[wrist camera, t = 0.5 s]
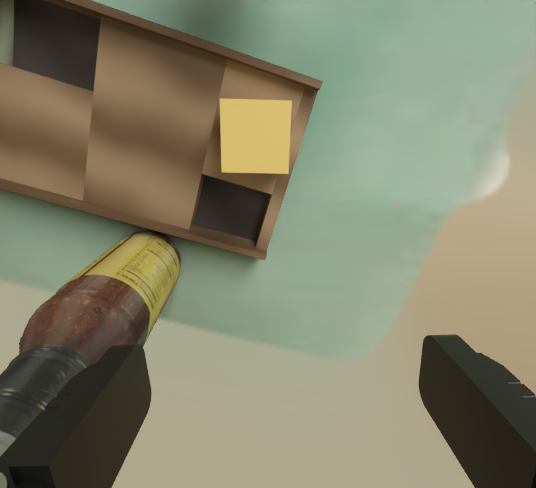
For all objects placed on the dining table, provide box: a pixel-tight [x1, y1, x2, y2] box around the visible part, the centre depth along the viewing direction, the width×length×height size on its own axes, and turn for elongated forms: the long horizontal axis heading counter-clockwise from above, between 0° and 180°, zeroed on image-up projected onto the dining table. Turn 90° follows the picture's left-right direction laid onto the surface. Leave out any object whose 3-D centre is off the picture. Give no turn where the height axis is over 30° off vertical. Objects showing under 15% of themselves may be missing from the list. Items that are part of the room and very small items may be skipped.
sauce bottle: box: [0, 231, 181, 456], centre depth 20 cm, size 7×6×20 cm
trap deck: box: [0, 0, 323, 260], centre depth 23 cm, size 14×28×4 cm, turn 73°
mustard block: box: [220, 98, 292, 174], centre depth 22 cm, size 4×4×4 cm
